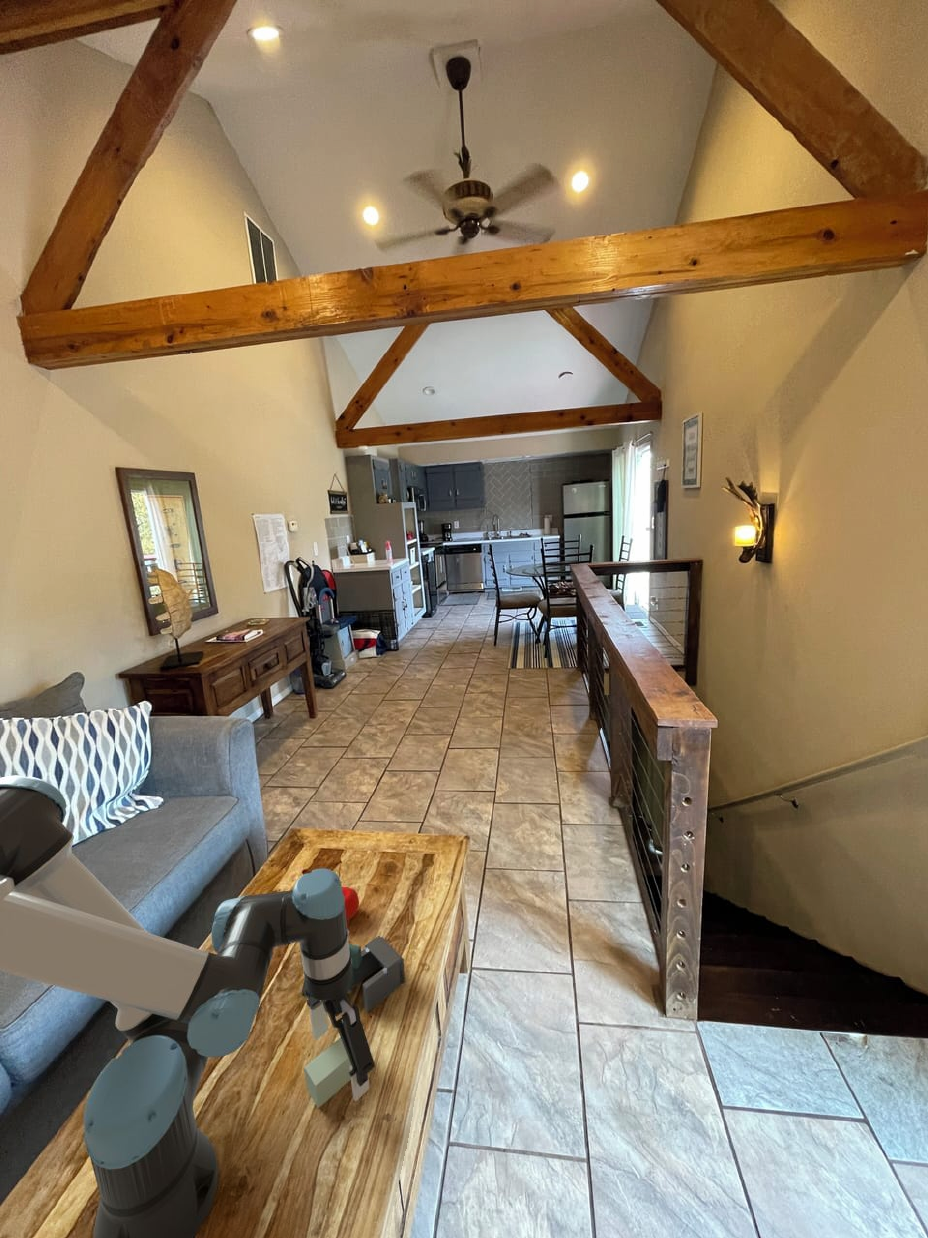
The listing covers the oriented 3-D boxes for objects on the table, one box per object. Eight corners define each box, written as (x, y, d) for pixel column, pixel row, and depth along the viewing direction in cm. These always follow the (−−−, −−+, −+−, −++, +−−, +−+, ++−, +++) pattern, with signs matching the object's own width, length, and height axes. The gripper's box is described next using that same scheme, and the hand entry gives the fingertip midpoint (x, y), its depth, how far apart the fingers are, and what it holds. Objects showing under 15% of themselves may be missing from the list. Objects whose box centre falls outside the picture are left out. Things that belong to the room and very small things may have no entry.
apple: (344, 937, 117) (341, 910, 115) (319, 924, 121) (316, 897, 119) (366, 913, 124) (364, 887, 122) (342, 901, 128) (340, 876, 126)
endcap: (367, 1012, 99) (365, 985, 98) (346, 986, 105) (344, 959, 104) (405, 982, 106) (403, 956, 104) (383, 958, 111) (381, 933, 110)
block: (318, 1109, 84) (315, 1086, 83) (306, 1090, 87) (304, 1067, 86) (369, 1063, 90) (367, 1041, 89) (357, 1047, 93) (355, 1025, 92)
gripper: (390, 996, 77) (400, 1102, 81) (312, 908, 94) (324, 999, 99) (346, 1032, 72) (360, 1143, 76) (273, 932, 90) (288, 1026, 94)
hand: (340, 1062), depth 88 cm, fingers open, 13 cm apart
